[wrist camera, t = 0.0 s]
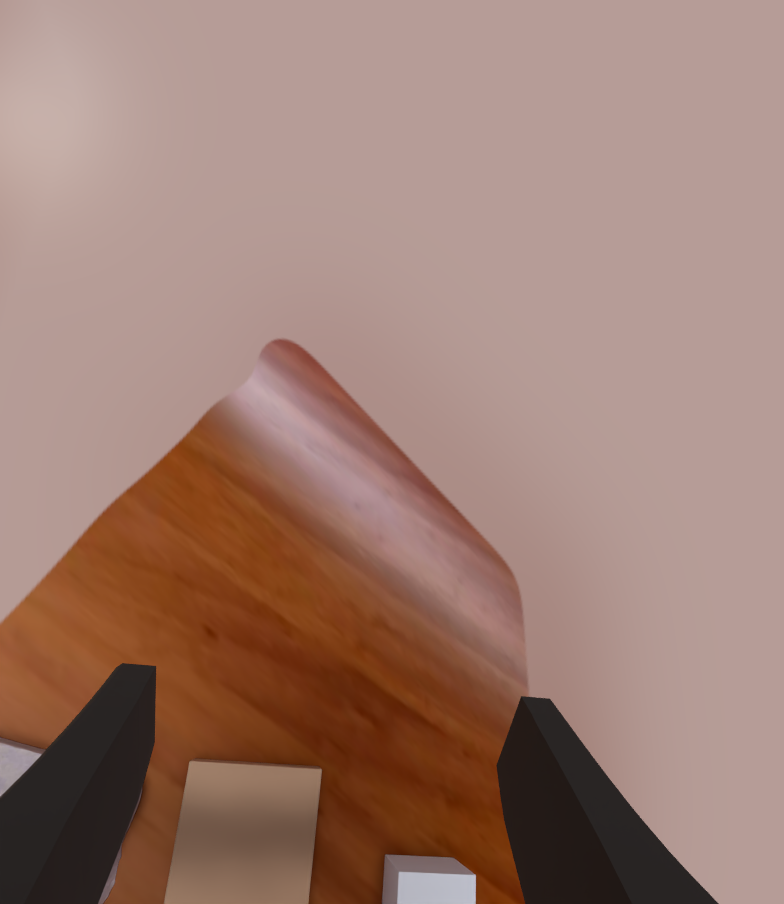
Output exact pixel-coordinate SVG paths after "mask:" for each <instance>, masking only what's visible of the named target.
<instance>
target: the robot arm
mask: <svg viewBox="0 0 784 904" xmlns="http://www.w3.org/2000/svg"><path fill="white" fill-rule="evenodd" d="M155 694H156V666H148V665H136V664H124V663H122V664H121V665H119V666H118V667H116V669H115V670H114V671H113V672H112V674H111V675H110V676H109V678H108V679H107V680H106V681H105V683H104V684H103V685H102V686H101V688H100V689H99V690H98V691H97V693H96V694H95V695H94V696H93V697H92V699H91V700H90V701H89V702H88V703H87V705H86V706H85V707H84V708H83V709H82V710H81V712H80V713H79V714H78V715H77V716H76V717H75V718H74V720H73V721H72V722H71V723H70V724H69V725H68V726H67V728H66V729H65V730H64V731H63V732H62V733H61V734H60V735H59V736H58V737H57V738H56V740H55V741H54V742H53V743H52V744H51V745H50V746H49V747H48V748H47V749H46V750H45V752H44V753H43V754H42V755H41V756H40V757H39V758H38V759H37V760H36V761H35V762H34V763H33V764H32V765H31V766H30V767H29V769H28V770H27V771H26V772H25V773H24V774H23V775H22V776H21V777H20V778H19V779H18V780H17V781H16V782H14V783H13V784H12V785H11V786H10V787H9V788H8V789H7V790H6V791H5V792H4V793H3V794H2V795H1V796H0V904H98V903H99V900H100V898H101V895H102V893H103V890H104V887H105V885H106V882H107V880H108V877H109V875H110V872H111V870H112V867H113V864H114V862H115V859H116V857H117V854H118V852H119V849H120V847H121V844H122V841H123V839H124V836H125V834H126V831H127V829H128V826H129V823H130V821H131V818H132V816H133V813H134V810H135V808H136V805H137V803H138V800H139V797H140V793H141V790H142V786H143V783H144V779H145V776H146V772H147V768H148V765H149V761H150V757H151V754H152V750H153V746H154V743H155ZM497 772H498V780H499V788H500V795H501V802H502V808H503V815H504V821H505V825H506V829H507V833H508V837H509V841H510V845H511V849H512V853H513V857H514V861H515V865H516V869H517V873H518V877H519V880H520V884H521V888H522V892H523V896H524V900H525V904H718V903H717V902H716V901H715V900H714V899H713V898H712V896H711V895H710V894H709V893H708V892H707V891H706V890H705V889H704V888H703V887H702V886H701V885H700V884H699V883H698V882H697V881H696V880H695V879H694V878H693V877H692V876H691V875H690V874H689V872H688V871H687V870H686V869H685V868H684V867H683V866H682V865H681V864H680V863H679V862H678V861H677V859H676V858H675V857H674V856H673V855H672V854H671V853H670V852H669V851H668V850H667V848H666V847H665V846H664V845H663V844H662V842H661V841H660V840H659V839H658V838H657V837H656V835H655V834H654V833H653V832H652V831H651V830H650V829H649V827H648V826H647V825H646V824H645V823H644V821H643V820H642V819H641V818H640V817H639V815H638V814H637V813H636V812H635V811H634V809H633V808H632V807H631V806H630V804H629V803H628V802H627V801H626V799H625V798H624V797H623V796H622V794H621V793H620V792H619V790H618V789H617V788H616V787H615V785H614V784H613V783H612V781H611V780H610V779H609V778H608V776H607V775H606V774H605V773H604V771H603V770H602V769H601V767H600V766H599V765H598V763H597V762H596V761H595V759H594V758H593V757H592V755H591V754H590V752H589V751H588V750H587V749H586V747H585V746H584V745H583V743H582V742H581V740H580V739H579V738H578V736H577V735H576V734H575V732H574V731H573V729H572V728H571V727H570V725H569V724H568V723H567V721H566V720H565V719H564V717H563V716H562V714H561V713H560V712H559V710H558V709H557V708H556V706H555V705H554V704H553V702H552V701H551V700H550V699H545V698H534V697H522V696H521V699H520V702H519V704H518V707H517V710H516V713H515V716H514V718H513V721H512V724H511V727H510V730H509V732H508V735H507V738H506V741H505V744H504V746H503V749H502V752H501V755H500V757H499V760H498V763H497Z"/></svg>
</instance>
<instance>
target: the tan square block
mask: <svg viewBox="0 0 784 904" xmlns="http://www.w3.org/2000/svg"><path fill="white" fill-rule="evenodd" d="M321 773H322V769H321V768H320V767H319V766H304V765H289V764H273V763H258V762H242V761H226V760H211V759H193V760H191V761H190V762H189V768H188V773H187V779H186V785H185V790H184V796H183V801H182V807H181V812H180V818H179V823H178V829H177V834H176V840H175V845H174V851H173V856H172V862H171V867H170V873H169V878H168V884H167V889H166V895H165V900H164V904H308V901H309V891H310V881H311V872H312V862H313V852H314V842H315V832H316V822H317V813H318V803H319V793H320V783H321Z"/></svg>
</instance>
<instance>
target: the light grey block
mask: <svg viewBox="0 0 784 904" xmlns="http://www.w3.org/2000/svg"><path fill="white" fill-rule="evenodd" d="M475 903H476V875H475V874H474V873H472V872H471V871H470V870H469V869H467V868H466V867H465V866H463V865H462V864H461V863H460V862H458V861H457V860H456V859H454V858H449V857H428V856H406V855H385V862H384V879H383V895H382V904H475Z"/></svg>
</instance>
